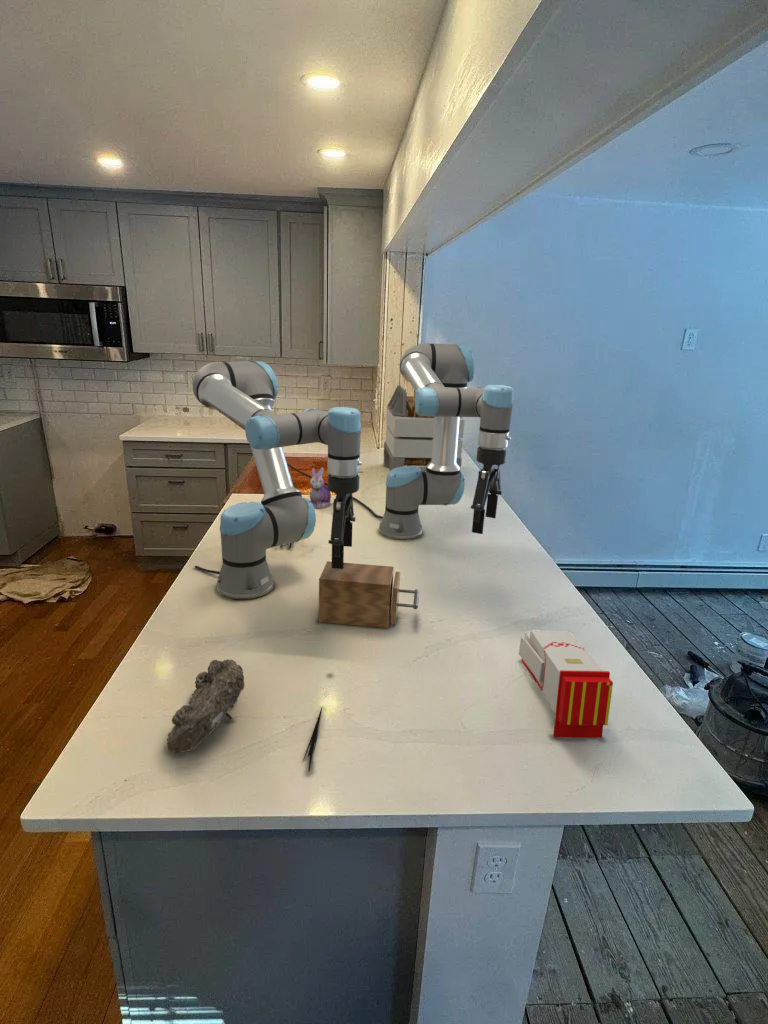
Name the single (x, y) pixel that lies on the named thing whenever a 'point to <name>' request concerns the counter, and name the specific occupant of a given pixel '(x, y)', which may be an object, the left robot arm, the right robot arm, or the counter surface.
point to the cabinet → (356, 595)
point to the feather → (313, 740)
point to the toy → (568, 682)
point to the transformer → (410, 433)
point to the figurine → (319, 490)
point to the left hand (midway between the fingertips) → (342, 556)
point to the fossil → (206, 705)
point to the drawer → (396, 598)
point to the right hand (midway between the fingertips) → (484, 524)
